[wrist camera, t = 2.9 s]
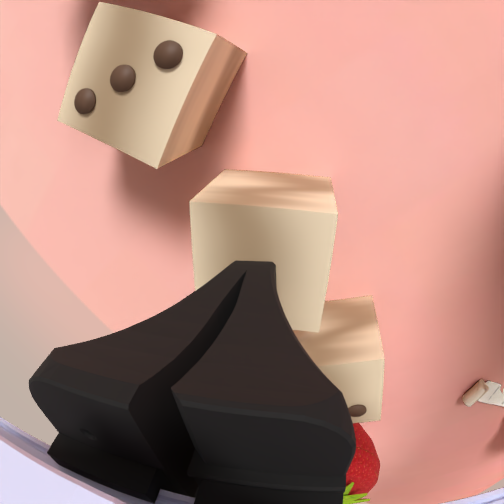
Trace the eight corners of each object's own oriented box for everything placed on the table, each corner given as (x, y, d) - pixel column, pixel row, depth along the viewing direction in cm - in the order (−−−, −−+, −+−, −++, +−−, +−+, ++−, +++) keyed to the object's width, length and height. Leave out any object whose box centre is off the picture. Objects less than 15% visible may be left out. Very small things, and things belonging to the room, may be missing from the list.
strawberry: (321, 437, 24) (311, 542, 15) (277, 391, 22) (253, 518, 13) (387, 419, 22) (393, 531, 13) (354, 366, 20) (356, 509, 11)
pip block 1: (247, 53, 13) (215, 33, 8) (202, 145, 15) (155, 169, 11) (155, 20, 12) (95, 0, 8) (119, 107, 15) (53, 120, 10)
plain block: (330, 177, 15) (338, 213, 10) (319, 270, 17) (318, 332, 13) (225, 169, 15) (189, 201, 11) (226, 260, 18) (197, 316, 13)
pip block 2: (371, 294, 17) (384, 360, 13) (373, 357, 19) (380, 421, 15) (281, 305, 18) (269, 371, 14) (295, 365, 20) (287, 429, 16)
